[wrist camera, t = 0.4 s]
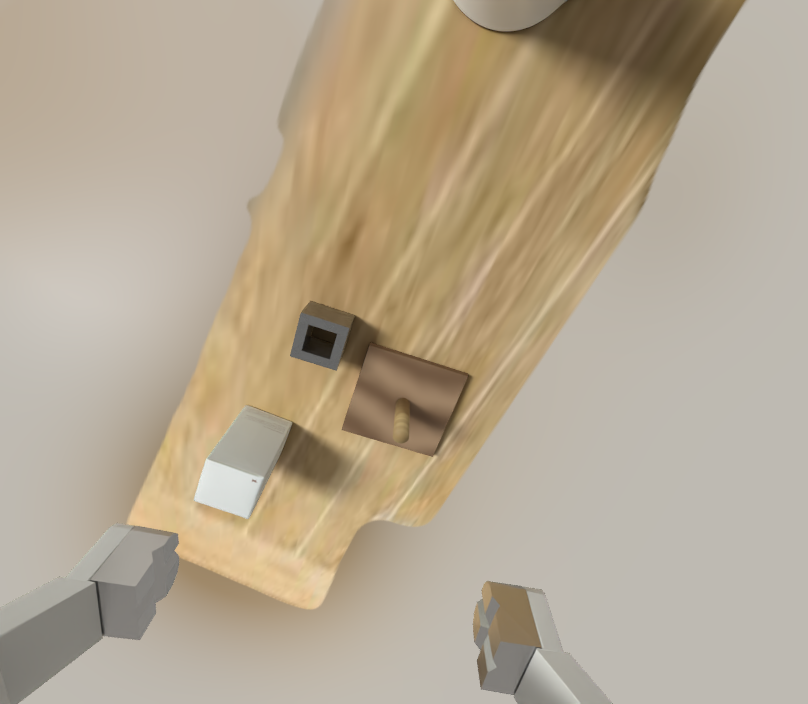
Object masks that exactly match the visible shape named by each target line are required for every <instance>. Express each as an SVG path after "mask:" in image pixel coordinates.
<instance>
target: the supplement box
mask: <svg viewBox="0 0 808 704" xmlns="http://www.w3.org/2000/svg"><path fill="white" fill-rule="evenodd" d="M291 426H292V422H290V421H288V420H286V419H283V418H280V417H278V416H275V415H272V414H270V413H267V412H265V411H262V410H259V409H257V408H254V407H252V406H248V405H246V406H245V407H244V408H243V410H242V411H241V412H240V414H239V415H238V416H237V418H236V419H235V420H234V422H233V423H232V425H231V426H230V427H229V429H228V430H227V431H226V433H225V434H224V436H223V437H222V438H221V440H220V441H219V442H218V444H217V445H216V447H215V448H214V449H213V451H212V452H211V453H210V455H209V456H208V457H207V459H206V461H205V464H204V467H203V471H202V474H201V477H200V480H199V484H198V487H197V490H196V494H195V497H194V501H196V502H199V503H202V504H205V505H208V506H211V507H214V508H217V509H220V510H223V511H226V512H229V513H232V514H235V515H238V516H241V517H244V518H246V519H249V517H250V516H251V514H252V512H253V510H254V508H255V506H256V504H257V502H258V500H259V498H260V496H261V494H262V491H263V489H264V487H265V485H266V483H267V481H268V479H269V477H270V475H271V473H272V471H273V469H274V467H275V465H276V463H277V461H278V459H279V457H280V454H281V452H282V450H283V447H284V445H285V442H286V440H287V437H288V434H289V431H290V429H291Z"/></svg>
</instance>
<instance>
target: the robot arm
mask: <svg viewBox="0 0 808 704" xmlns="http://www.w3.org/2000/svg"><path fill="white" fill-rule="evenodd" d="M566 1H567V0H454V2H455V3H456V5H457V6H458V7H459V8H460V10H461V11H462V12H463V13H464V14H465V15H466V16H467V17H469V18H470V19H471V20H473V21H474V22H476V23H477V24H479V25H481V26H483V27H486V28H489V29H492V30H497V31H516V30H521V29H525V28H528V27H530V26H533V25H535V24H537V23H539V22H540V21H542V20H544V19H545V18H547V17H548V16H549V15H550V14H552V13H553V12H554V11H555V10H556V9H557V8H559V7H560V6H561V5H562V4H563V3H564V2H566ZM178 544H179V541H178V534H176V533H172V532H167V531H161V530H156V529H151V528H145V527H140V526H134V525H128V524H122V523H116V524H114V525H112V526H111V527H110V528H109V529H108V530H107V531H106V532H105V533H104V534H103V535H102V536H101V538H100V539H99V540H98V541H97V542H96V543H95V544H94V546H93V547H92V548H91V549H90V550H89V551H88V552H87V554H86V555H85V556H84V557H83V558H82V559H81V560H80V561H79V563H78V564H77V565H76V566H75V567H74V568H73V570H72V571H71V572H70V573H69V574H68V575H67V576H66V577H57V578H56V579H54V580H52V581H50V582H48V583H46V584H44V585H42V586H41V587H38V588H36V589H35V590H33V591H31V592H29V593H27V594H25V595H23V596H21V597H19V598H17V599H15V600H14V601H12V602H10V603H8V604H6V605H4V606H2V607H0V704H18V703H19V702H20V701H22V700H23V699H24V698H26V697H27V696H28V695H30V694H31V693H32V692H34V691H35V690H36V689H37V688H39V687H40V686H41V685H43V684H44V683H45V682H47V681H48V680H49V679H50V678H52V677H53V676H54V675H56V674H57V673H58V672H59V671H61V670H62V669H63V668H65V667H66V666H67V665H68V664H70V663H71V662H72V661H74V660H75V659H76V658H78V657H79V656H80V655H82V654H83V653H84V652H85V651H87V650H88V649H89V648H91V647H92V646H93V645H94V644H96V643H97V642H98V641H100V640H101V639H102V636H108V637H117V638H127V639H135V640H140V639H141V637H142V636H143V634H144V632H145V631H146V629H147V627H148V626H149V624H150V622H151V621H152V619H153V617H154V616H155V614H156V604H155V603H156V602H158V601H159V600H161V599H162V598H164V597H166V596H167V594H168V592H169V590H170V589H171V587H172V585H173V582H174V580H175V577H176V574H177V572H178V566H179V556H178V554H177V553H176V552H175V551H174V550H175V548H176V547H177V545H178ZM482 597H483V599H482V600H480V601H479V602H477V605H476V608H475V612H474V619H473V632H474V642H475V643H476V645H477V646H478V647H479V649H480V650H481V651H480V654H479V656H478V659H477V665H478V672H479V679H480V687H481V689H483V690H488V691H494V692H500V693H506V694H511V695H514V698H515V700H516V702H517V703H518V704H613V703H612V702H611V701H610V700H609V699H608V697H607V696H606V695H605V694H604V693H603V692H602V690H601V689H600V688H599V687H598V686H597V685H596V684H595V682H593V680H592V679H591V678H590V677H589V675H588V674H587V673H586V672H585V671H584V670H583V669H582V667H581V666H580V665H579V664H578V663H577V662H576V660H575V659H574V658H573V657H572V656H571V655H570V653H566V652H563V649H562V646H561V642H560V639H559V636H558V633H557V630H556V627H555V624H554V621H553V618H552V614H551V611H550V608H549V605H548V602H547V599H546V596H545V593H544V592H543V591H542V590H541V589H535V588H528V587H522V586H518V585H511V584H503V583H496V582H489V581H487V582H486V583H485V584H484V586H483V588H482Z"/></svg>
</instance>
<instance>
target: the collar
mask: <svg viewBox="0 0 808 704" xmlns="http://www.w3.org/2000/svg"><path fill="white" fill-rule="evenodd" d="M354 317H355V315H353V314H350V313H347V312H344V311H340V310H337V309H334V308H331V307H328V306H325V305H322V304H319V303H316V302H313V301H310V302H309V303H308V305H307V306H306V307H305V308H304V309H303V311H302V312H301V314H300V318H299V322H298V326H297V330H296V334H295V338H294V342H293V346H292V350H291V354H290V356H291V357H294V358H298V359H301V360H304V361H307V362H310V363H314V364H317V365H320V366H323V367H327V368H330V369H333V370H336V371H337V368H338V366H339V363H340V361H341V358H342V356H343V353H344V350H345V346H346V343H347V340H348V337H349V333H350V330H351V327H352V324H353V320H354ZM313 327H318V328H321V329H324V330H327V331H330V332H333V333H336V334H337V336H336V340H335V343H334V344H333V343H330V342H327V341H324V340H321V339H318V338H315V337H311V334H312V330H313Z"/></svg>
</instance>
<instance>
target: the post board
mask: <svg viewBox="0 0 808 704" xmlns="http://www.w3.org/2000/svg"><path fill="white" fill-rule="evenodd" d="M467 378H468V374H467V373H465V372H461V371H458V370H455V369H452V368H449V367H446V366H443V365H440V364H436V363H433V362H430V361H427V360H424V359H421V358H418V357H415V356H411V355H408V354H405V353H402V352H399V351H396V350H393V349H390V348H386V347H383V346H380V345H377V344H374V343H371V342H370V345H369V348H368V351H367V354H366V357H365V360H364V363H363V366H362V369H361V372H360V375H359V378H358V381H357V384H356V387H355V390H354V393H353V396H352V399H351V403H350V406H349V409H348V412H347V415H346V418H345V421H344V424H343V427H342V430H344V431H347V432H351V433H354V434H357V435H361V436H364V437H367V438H371V439H374V440H378V441H381V442H384V443H388V444H391V445H395V446H398V447H401V448H405V449H408V450H411V451H415V452H418V453H422V454H425V455H428V456H432V457H433V455H434V453H435V450H436V448H437V446H438V443H439V441H440V439H441V437H442V434H443V432H444V430H445V428H446V425H447V423H448V421H449V419H450V416H451V414H452V412H453V410H454V407H455V405H456V403H457V401H458V398H459V396H460V394H461V392H462V389H463V387H464V385H465V382H466V380H467Z"/></svg>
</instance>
